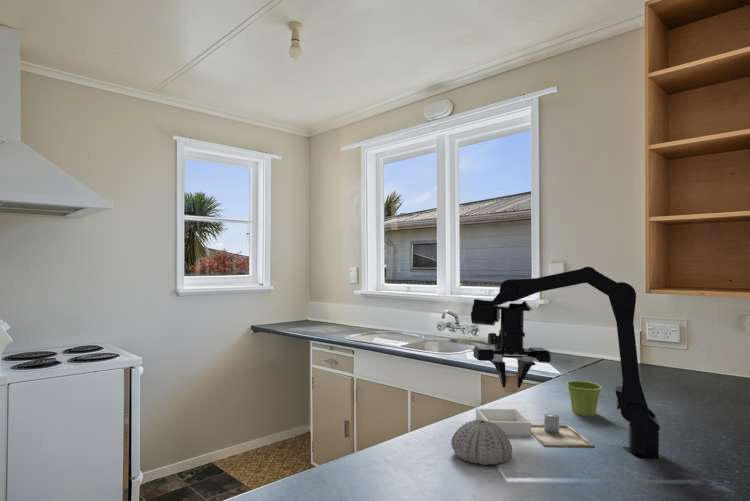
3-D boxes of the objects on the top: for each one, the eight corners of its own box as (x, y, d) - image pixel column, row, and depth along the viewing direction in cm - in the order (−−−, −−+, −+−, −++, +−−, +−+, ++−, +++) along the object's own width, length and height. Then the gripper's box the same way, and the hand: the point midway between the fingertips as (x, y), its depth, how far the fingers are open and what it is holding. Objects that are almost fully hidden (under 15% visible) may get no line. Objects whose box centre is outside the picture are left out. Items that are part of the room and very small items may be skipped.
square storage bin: (530, 437, 118) (531, 422, 118) (486, 436, 117) (486, 422, 117) (516, 422, 129) (516, 408, 129) (475, 421, 128) (476, 408, 128)
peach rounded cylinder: (519, 392, 120) (520, 377, 120) (506, 392, 120) (506, 376, 120) (515, 389, 123) (515, 373, 123) (501, 388, 123) (502, 373, 123)
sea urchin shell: (440, 449, 109) (441, 414, 109) (490, 443, 113) (490, 409, 114) (472, 474, 96) (472, 434, 96) (526, 465, 101) (526, 428, 101)
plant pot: (605, 421, 131) (605, 390, 131) (569, 418, 133) (570, 387, 133) (596, 411, 140) (597, 382, 141) (563, 408, 142) (563, 380, 142)
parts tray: (594, 449, 110) (594, 445, 110) (543, 448, 110) (544, 444, 110) (568, 428, 124) (568, 424, 124) (523, 428, 124) (523, 424, 124)
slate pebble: (561, 433, 119) (561, 417, 119) (547, 433, 119) (547, 417, 119) (555, 428, 122) (555, 413, 122) (542, 428, 122) (542, 413, 122)
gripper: (535, 324, 130) (534, 380, 130) (469, 322, 130) (468, 379, 129) (552, 329, 119) (551, 391, 119) (479, 327, 119) (478, 390, 118)
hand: (510, 387), depth 121 cm, fingers closed on peach rounded cylinder, 4 cm apart
